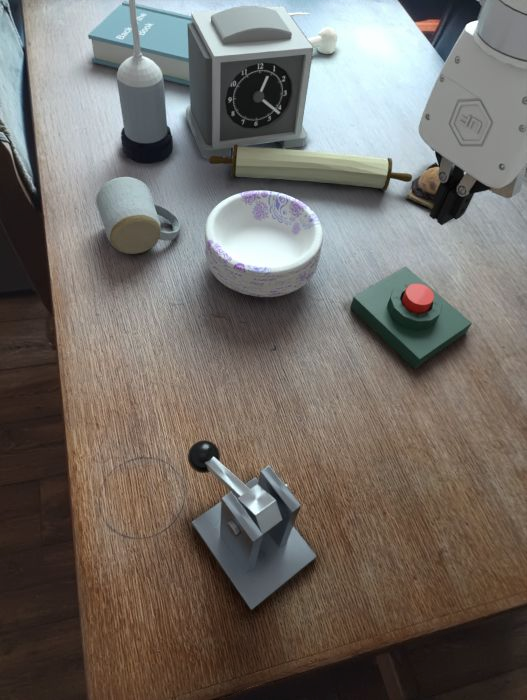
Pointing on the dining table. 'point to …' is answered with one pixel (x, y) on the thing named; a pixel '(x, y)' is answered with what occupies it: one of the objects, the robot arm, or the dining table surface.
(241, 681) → the dining table surface
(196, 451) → the tap lever
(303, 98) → the alarm clock
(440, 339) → the button block
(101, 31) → the book
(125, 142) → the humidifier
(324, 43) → the faucet
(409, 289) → the button
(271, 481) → the tap bracket
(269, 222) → the paper bowls
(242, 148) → the rolling pin
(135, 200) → the ceramic mug
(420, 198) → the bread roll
